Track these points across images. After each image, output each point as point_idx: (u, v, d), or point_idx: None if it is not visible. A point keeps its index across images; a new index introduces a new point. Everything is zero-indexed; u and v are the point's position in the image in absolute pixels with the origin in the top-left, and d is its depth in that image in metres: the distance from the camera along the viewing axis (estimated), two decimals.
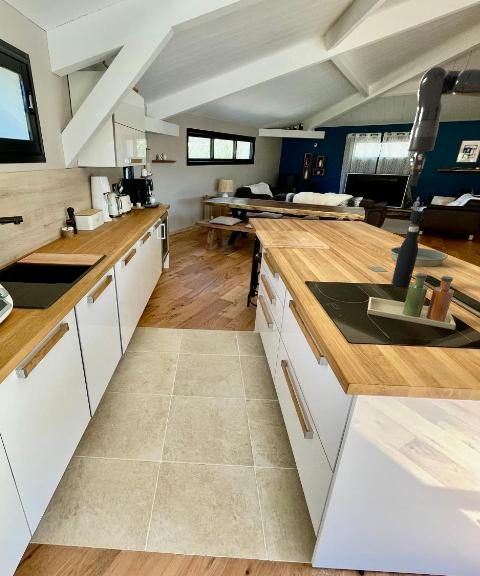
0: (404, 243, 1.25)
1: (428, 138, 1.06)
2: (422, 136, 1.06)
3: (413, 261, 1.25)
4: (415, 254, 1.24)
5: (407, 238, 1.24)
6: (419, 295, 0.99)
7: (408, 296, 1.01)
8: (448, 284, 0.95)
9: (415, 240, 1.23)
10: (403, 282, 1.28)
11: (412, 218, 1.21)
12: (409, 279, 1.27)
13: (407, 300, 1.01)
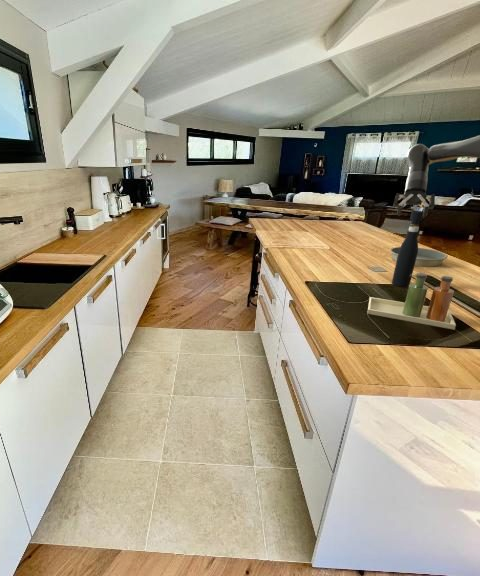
0: (404, 243, 1.25)
1: (407, 184, 1.36)
2: None
3: (413, 261, 1.25)
4: (415, 254, 1.24)
5: (407, 238, 1.24)
6: (419, 295, 0.99)
7: (408, 296, 1.01)
8: (448, 284, 0.95)
9: (415, 240, 1.23)
10: (403, 282, 1.28)
11: (412, 218, 1.21)
12: (409, 279, 1.27)
13: (407, 300, 1.01)
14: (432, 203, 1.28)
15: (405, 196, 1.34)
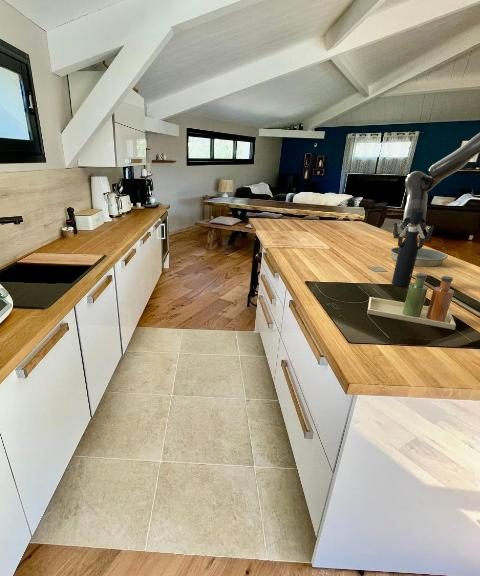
0: (404, 243, 1.25)
1: (405, 212, 1.29)
2: (404, 213, 1.31)
3: (413, 261, 1.25)
4: (415, 254, 1.24)
5: (407, 238, 1.24)
6: (419, 295, 0.99)
7: (408, 296, 1.01)
8: (448, 284, 0.95)
9: (415, 240, 1.23)
10: (403, 282, 1.28)
11: (412, 218, 1.21)
12: (409, 279, 1.27)
13: (407, 300, 1.01)
14: (428, 235, 1.22)
15: (403, 225, 1.28)
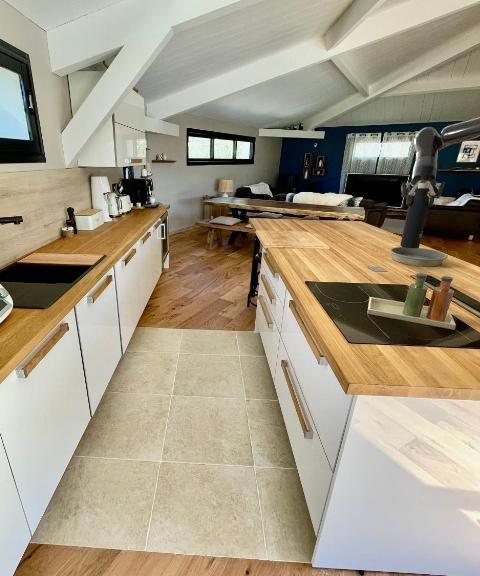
0: (413, 201, 1.18)
1: (414, 170, 1.23)
2: None
3: (423, 220, 1.18)
4: (425, 212, 1.17)
5: (416, 196, 1.17)
6: (419, 295, 0.99)
7: (408, 296, 1.01)
8: (448, 284, 0.95)
9: (425, 197, 1.16)
10: (412, 243, 1.21)
11: (422, 173, 1.15)
12: (419, 240, 1.21)
13: (407, 300, 1.01)
14: (439, 192, 1.16)
15: (412, 183, 1.21)
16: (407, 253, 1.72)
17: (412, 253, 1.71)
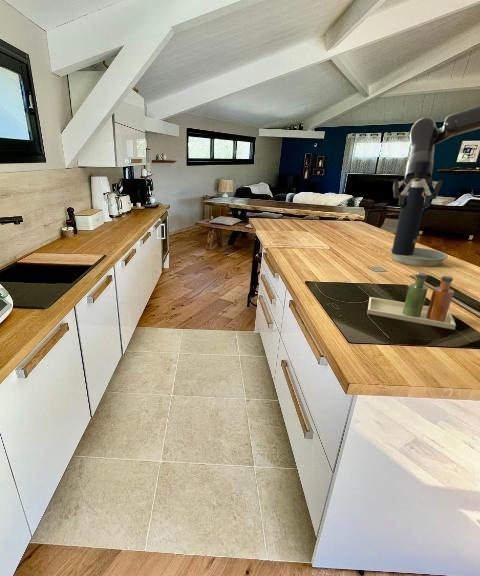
0: (406, 202, 1.04)
1: (407, 167, 1.08)
2: (406, 169, 1.10)
3: (417, 224, 1.03)
4: (420, 215, 1.03)
5: (410, 196, 1.03)
6: (419, 295, 0.99)
7: (408, 296, 1.01)
8: (448, 284, 0.95)
9: (419, 198, 1.02)
10: (405, 250, 1.07)
11: (416, 170, 1.00)
12: (413, 246, 1.06)
13: (407, 300, 1.01)
14: (436, 191, 1.01)
15: (405, 182, 1.07)
16: None
17: None
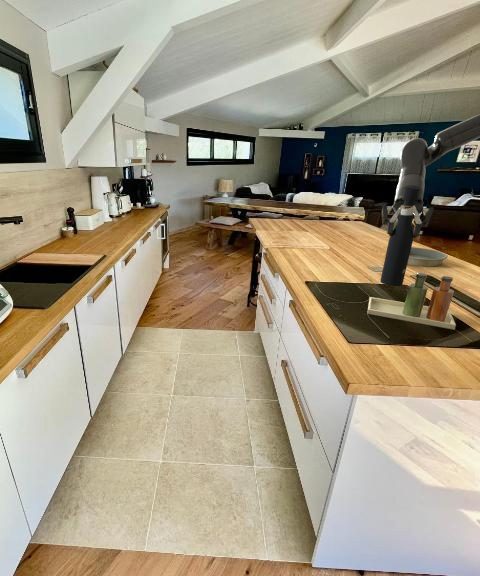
0: (395, 230, 0.97)
1: (397, 191, 1.02)
2: None
3: (407, 253, 0.97)
4: (409, 244, 0.96)
5: (399, 224, 0.96)
6: (419, 295, 0.99)
7: (408, 296, 1.01)
8: (448, 284, 0.95)
9: (409, 226, 0.95)
10: (394, 280, 1.00)
11: (405, 197, 0.93)
12: (402, 276, 1.00)
13: (407, 300, 1.01)
14: (426, 219, 0.95)
15: (394, 208, 1.00)
16: None
17: (412, 253, 1.71)
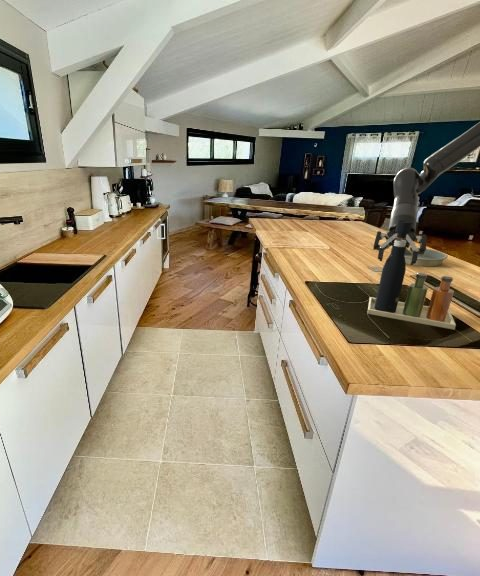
0: (388, 260, 1.01)
1: (391, 219, 1.05)
2: None
3: (400, 283, 1.01)
4: (402, 274, 1.00)
5: (392, 254, 1.00)
6: (419, 295, 0.99)
7: (408, 296, 1.01)
8: (448, 284, 0.95)
9: (402, 257, 0.99)
10: (388, 308, 1.04)
11: (398, 230, 0.97)
12: (395, 304, 1.04)
13: (407, 300, 1.01)
14: (423, 247, 0.98)
15: (388, 236, 1.03)
16: (407, 253, 1.72)
17: None
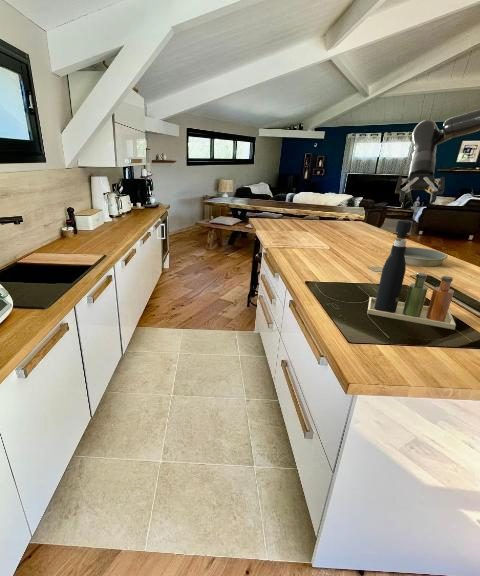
0: (388, 260, 1.01)
1: (411, 166, 1.15)
2: None
3: (400, 283, 1.01)
4: (402, 274, 1.00)
5: (392, 254, 1.00)
6: (419, 295, 0.99)
7: (408, 296, 1.01)
8: (448, 284, 0.95)
9: (402, 257, 0.99)
10: (388, 308, 1.04)
11: (398, 230, 0.97)
12: (395, 304, 1.04)
13: (407, 300, 1.01)
14: (442, 187, 1.07)
15: (409, 180, 1.13)
16: (407, 253, 1.72)
17: (412, 253, 1.71)
